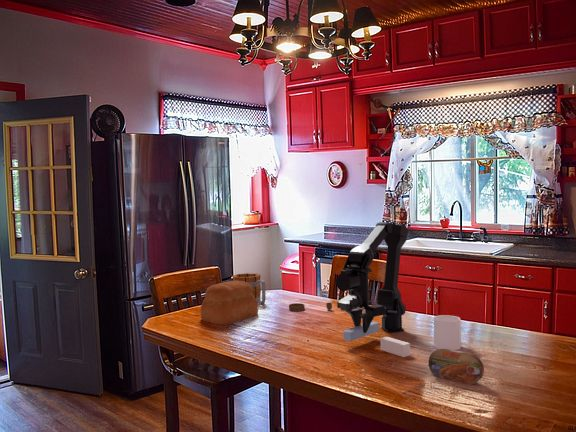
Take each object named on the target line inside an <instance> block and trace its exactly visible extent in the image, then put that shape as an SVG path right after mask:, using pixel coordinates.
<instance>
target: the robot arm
mask: <svg viewBox="0 0 576 432" xmlns="http://www.w3.org/2000/svg"><path fill="white" fill-rule="evenodd" d="M408 230H409V229H408V228H407V226H406V225H405V224H403V223H402V224H401V223H391V222H388V221H387V222H386V221H385V222H384V221H379V222H377V223H376V224H375V227H374V229H373V230H372V231H371V233H369V235H368V236H367V237H366V238H365V239H364V241H363V242H362V243H361V244H360V245H356V246H355V247H353V248H352V249H351V250H350V251H349V252H348V256H347V258H346V260H345V263H344V266H343V268H342V270H340V274H338V276H337V277H336V279H335V286H336V288H337V289H338V290H340V291H341V292H347V291H348V295H345V296H344V297H342V298H341V299H338V300H337V303H336V307H337V308H338V309H340V310H341V311H343V312H345V313H347V314H349V315H350V318H351V321H352V322H353V325H354V327H356V326H359V325H362V324H363V332H364V333H367V331H368V328H369V326H370V324H371V322H372V321H373V320H374V318H375V317H379V316H380V317H381V316H382V317H381V327H380V328H381V329H382V330H384V331H386V332H388V333H392V332H401V331H405V328H403V320H402V318H403V316H404V315H405V314H406V310H407V307H406V305H405V303H404V302H403V301H402V294H401V292H400V291H401V290H399V287H398V286H399V285H398V284H399V272H400V260H401V252H402V249H403V246H404V245H405V243H406V242H407V238H408V234H409V231H408ZM383 241H384V242H385V245H386V247H387V249H386V260H385V271H384V281H383V282H384V283H383V286H382V287H381V288H380V289H378V290H377V298H376V304H372V303H373V301H371V300H370V293H372V288H371V289H370V280H369V279H370V277H369V276H370V274H369V273H372V272H373V271H372V269H371V268H370V266H371V264H372V262H373V260H374V258H375V257H374V253H375V252H376V250H378V247H379V246H380V245H381V244H382V242H383Z"/></svg>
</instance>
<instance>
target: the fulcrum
mask: <svg viewBox="0 0 576 432" xmlns="http://www.w3.org/2000/svg"><path fill="white" fill-rule="evenodd" d="M380 350H381V351H383V352H387V353H389V354H393V355H396V356H399V357H402V358H405V357H409V356H411V343H410V342H407V341H403V340H399V339H396V338H393V337H389V336H384V337H380Z"/></svg>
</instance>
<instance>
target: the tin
mask: <svg viewBox="0 0 576 432" xmlns="http://www.w3.org/2000/svg"><path fill="white" fill-rule="evenodd" d="M428 367H429V370H430V372H431V374H433V376H434V377H436V378H437V379H443V380H447V381H451V382H454V383H460V384H464V385H469V386H471V385H474V384H477V383H478V382H479V381H480V380H481V379H482V378H483V375H484V372H485V369H484V363H483V362H482V360H481V358H480V357H478V356H477V355H476V354H474V353H472V352H466V351H460V350H448V349H437V350H434V351H432V353H431V354H430V355H429V357H428Z"/></svg>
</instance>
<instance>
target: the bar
mask: <svg viewBox="0 0 576 432" xmlns="http://www.w3.org/2000/svg"><path fill="white" fill-rule="evenodd" d="M379 323H380V322H379V321H378V322H377V321H373V320H372V322H371V324H370V326H369V328H368V331H367V333H364V332H363V323H361V325H359V326H356V327H355V326H354V327H351V328H348V329H345V330H343V333H342V337H343V341H347V342H352V341H356V340H358V339H361V338H363V337H366V336H369V335H372V334H375V333H377V332H380V324H379Z"/></svg>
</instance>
